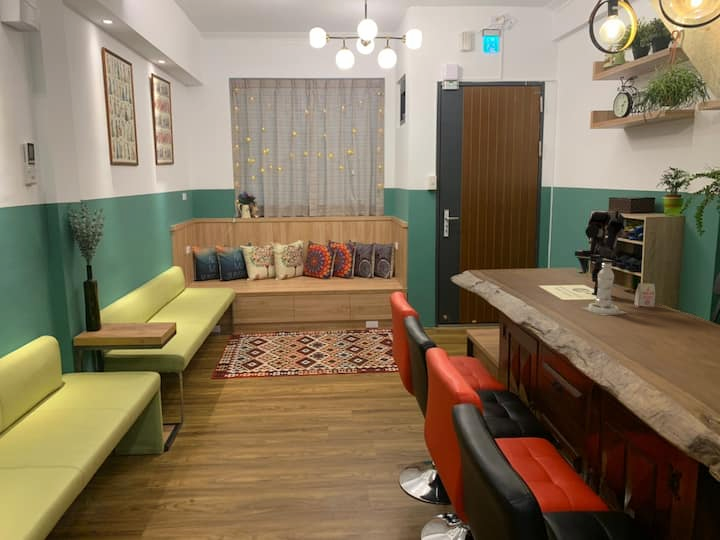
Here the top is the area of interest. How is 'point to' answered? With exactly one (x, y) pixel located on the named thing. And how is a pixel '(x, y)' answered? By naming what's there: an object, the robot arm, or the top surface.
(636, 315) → the top surface
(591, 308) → the bottle holder
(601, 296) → the plastic bottle
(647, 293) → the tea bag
